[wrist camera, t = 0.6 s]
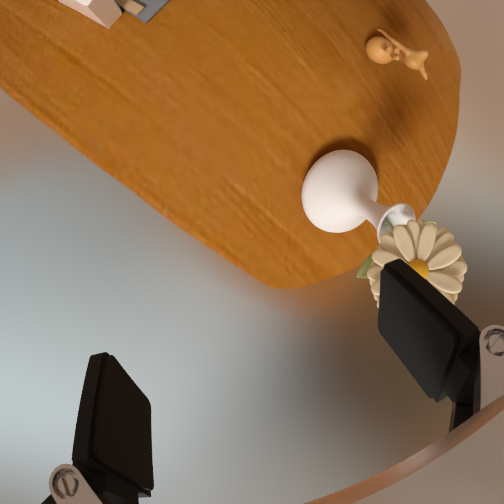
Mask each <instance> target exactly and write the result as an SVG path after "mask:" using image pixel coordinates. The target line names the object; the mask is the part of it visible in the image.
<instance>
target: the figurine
mask: <svg viewBox="0 0 504 504" xmlns="http://www.w3.org/2000/svg"><path fill="white" fill-rule="evenodd" d="M376 30H378V31H380V32H381V33H382V34H383V35H384V36H385V37H386V38H387V39H386V38H383V37H373V38H371V39H370V40H369V41H368V42H367V44H366V53H367V55H368V57H369V58H370V59H371V60H372V61H374V62H375V63H378V64H387V63H389V62H391V61H392V60H401V61H402V62H403V63H404V64H405V65H406V66H408V67H409V68H411V69H414V70H420V72H421V74H422V75H421V76H422V77H421V78H423V79H425V80H427V78H428V77H427V74H426V71H425V68H424V61H425V59H426V58H427V57H428V51H427V50H424V49H421V50H414V49H411V48H409V49H408V48H406V47H405V46H403V45H402V44H401V43H399V42H398V41H396V40H395V39H393V38H392V37H390V36H389V35H388V34H387V33H386V32H385V31H383V30H382V29H379V28H377V29H376ZM389 40H390V41H391V42H392V43H391V42H390V41H389ZM395 53H396V54H397V55H396V56H395ZM394 56H395V57H394Z"/></svg>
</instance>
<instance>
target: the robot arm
mask: <svg viewBox="0 0 504 504" xmlns="http://www.w3.org/2000/svg"><path fill="white" fill-rule="evenodd" d="M378 329H379V332H380V334H381V335H382V336H383V338H384V339H385V340H386V342H387V343H388V344H389V345H390V347H391V348H392V349H393V351H394V352H395V353H396V355H397V356H398V357H399V359H400V360H401V361H402V362H403V364H404V365H405V366H406V368H407V369H408V370H409V372H410V373H411V374H412V376H413V377H414V379H415V380H416V381H417V382H418V384H419V385H420V387H421V388H422V389H423V391H424V392H425V394H426V395H427V396H428V397H429V398H434V399H435V401H436V402H437V403H438V402H439V401H441V400H442V399H444V398H445V397H447V396H448V397H449V398H450V399H451V401H452V408H451V416H450V424H449V431H448V434H446V435H445V436H443V437H442V438H440V439H439V440H437V441H436V442H434V443H433V444H431V445H430V446H428V447H426V448H425V449H423V450H421V451H420V452H418V453H416V454H415V455H413V456H411V457H409V458H408V459H406V460H404V461H402V462H400V463H399V464H397V465H395V466H393V467H391V468H389V469H387V470H385V471H383V472H381V473H379V474H377V475H375V476H373V477H371V478H368V479H366V480H364V481H362V482H360V483H357V484H355V485H353V486H351V487H348V488H346V489H343V490H341V491H338V492H335V493H333V494H330V495H328V496H325V497H322V498H319V499H316V500H313V501H310V502H307V503H304V504H504V327H503V326H499V325H491V326H488V327H486V328H485V329H484V330H483V331H482V332H480V331H479V330H478V327H477V326H476V325H475V324H474V323H473V322H472V321H471V320H470V319H469V318H467V317H466V316H465V315H464V314H463V313H462V312H461V311H460V310H459V309H458V308H457V307H456V306H455V305H454V304H453V303H451V302H450V301H449V300H448V299H447V298H446V297H445V296H444V295H443V294H442V293H440V292H439V291H438V290H437V289H436V288H435V287H434V286H433V285H431V284H430V283H429V282H428V281H427V280H426V279H425V278H423V277H422V276H421V275H420V274H419V273H417V272H416V271H415V270H414V269H413V268H412V267H410V266H409V265H408V264H407V263H406V262H404V261H403V260H402V259H399V258H398V259H396V260H393V261H391V262H388V263H386V264H385V265H384V267H383V269H382V270H381V272H380V296H379V314H378ZM72 460H73V464H72V465H70V464H63V465H60V466H58V467H56V468H55V469H54V471H53V472H52V474H51V476H50V480H49V488H50V492H51V495H50V496H49V497H48V498H47V499H46V500H45V501H44V502H43V503H42V504H139V502H138V498H139V497H151V490H153V488H154V480H153V465H152V439H151V405H150V402H149V400H148V398H147V397H146V396H145V395H144V393H143V392H142V391H141V390H140V389H139V387H138V386H137V385H136V384H135V383H134V381H133V380H132V379H131V378H130V376H129V375H128V374H127V373H126V371H125V370H124V369H123V368H122V366H121V365H120V364H119V362H118V361H117V360H116V358H115V357H114V356H113V355H109V354H108V353H106V352H104V353H99V354H95V355H92V356H90V359H89V363H88V367H87V371H86V376H85V380H84V385H83V390H82V395H81V401H80V406H79V411H78V418H77V423H76V430H75V437H74V444H73V453H72Z"/></svg>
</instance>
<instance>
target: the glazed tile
mask: <svg viewBox="0 0 504 504" xmlns="http://www.w3.org/2000/svg"><path fill="white" fill-rule="evenodd" d="M59 1H60V2H61V3H63V4H65V5H67V6H69V7H71V8H73V9H74V10H76V11H78V12H80V13H82V14H84V15H86V16H87V17H89V18H91V19H93V20H94V21H96V22H98V23H100V24H101V25H103V26H105V27H106V28H108V29H109V28H110V27H111V26H112V25H113V24H114V22H115V21H116V20H117V19H118V18H119V17H120V16H121V15H122V12H121V11H122V10H121V9H120V7H119V5H118V4H117V2H116V1H115V0H59Z"/></svg>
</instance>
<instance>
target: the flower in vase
mask: <svg viewBox="0 0 504 504" xmlns="http://www.w3.org/2000/svg"><path fill="white" fill-rule="evenodd" d="M377 196H378V180H377V176H376V173H375V171H374V169H373V167H372V166H371V164H370V163H369V162H368V160H367V159H366V158H365V157H363V156H362V155H360V154H359V153H357V152H354V151H351V150H336V151H332V152H330V153H328V154H326V155H324V156H322V157H321V158H320V159H318V160H317V161H316V162H315V163H314V165H313V166H312V167H311V168H310V170H309V172H308V173H307V175H306V178H305V180H304V183H303V188H302V204H303V208H304V211H305V213H306V215H307V217H308V219H309V220H310V221H311V222H312V223H313V224H314V225H315V226H316V227H318V228H319V229H322V230H324V231H328V232H335V233H340V232H346V231H349V230H352V229H354V228H356V227H357V226H359V225H360V224H361V223H363V222H364V221H365V220H366V219H367V220H369V221H370V222H371V223H372V224H373V225H374V227H375V228H376V229H377V238H378V241H379V243H380V244H379V245H378V247H377V250H375V251H374V252H373V253H372V254H371V255H370V256H369V257H368V258H367V259H366V260H365V261H364V263H363V264H362V266H361V268H360V270H359V272H358V274H357V278H369V279H370V280H369V282H370V285H371V291H372V293H373V294H374V298H375V299H376V300H377V307H378V308H379V296H380V272H381V270H382V269H383V267H384V265H385V264H386V263H388V262H391V261H393V260H396V259H398V258H399V259H402V260H403V261H404V262H406V263H407V264H408V265H409V266H410V267H412V268H413V269H414V270H415V271H416V272H417V273H419V274H420V275H421V276H422V277H423V278H425V279H426V280H427V281H428V282H429V283H430V284H431V285H433V286H434V287H435V288H436V289H437V290H438V291H439V292H440V293H442V294H443V295H444V296H445V297H446V298H447V299H448V300H449V301H450V302H451V303H453V304H454V305H455V301H456V300H457V298H458V294H457V293H459V292H460V291H461V290H462V282H463V280H464V275H463V274H464V273H465V272H466V271H467V265H466V263H465V262H464V259H463V258H462V256H460V255H461V253H462V250H461V247H460V246H459V245H458V244H457V243H456V242H454V235H453V234H452V233H451V232H449V230H448V229H447V228H445V227H442V228H440V229H439V230H438V227H437V225H436V222H431V221H424V220H422V219H417V220H416V218H415V213H414V211H413V209H412V208H411V207H410V206H409V205H407V204H404V203H399V204H395V205H393V206H391V207H389V206H384V205H382V204H379V203H377V202H376V200H377Z"/></svg>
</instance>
